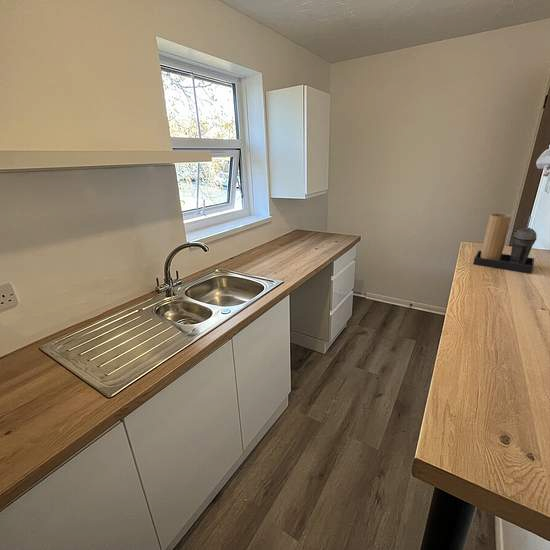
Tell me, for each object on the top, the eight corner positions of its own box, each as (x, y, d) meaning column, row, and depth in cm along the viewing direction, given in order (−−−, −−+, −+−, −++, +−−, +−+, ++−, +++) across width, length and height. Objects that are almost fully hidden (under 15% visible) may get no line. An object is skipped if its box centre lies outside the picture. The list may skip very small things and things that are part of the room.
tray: (532, 265, 122) (534, 258, 121) (531, 273, 114) (533, 266, 113) (477, 256, 133) (478, 250, 132) (473, 264, 125) (474, 257, 124)
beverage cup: (505, 266, 120) (518, 217, 112) (505, 261, 126) (518, 213, 118) (528, 270, 116) (544, 219, 108) (527, 264, 122) (542, 215, 114)
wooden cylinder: (496, 260, 128) (508, 213, 121) (501, 266, 122) (514, 217, 115) (477, 259, 131) (488, 213, 123) (481, 264, 125) (493, 216, 117)
